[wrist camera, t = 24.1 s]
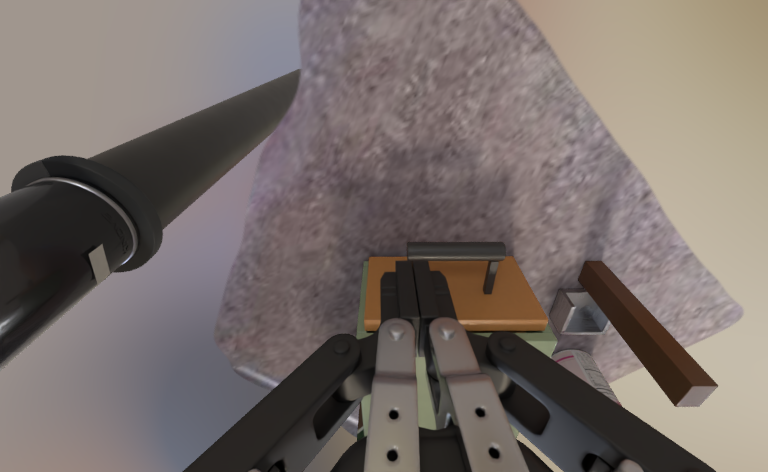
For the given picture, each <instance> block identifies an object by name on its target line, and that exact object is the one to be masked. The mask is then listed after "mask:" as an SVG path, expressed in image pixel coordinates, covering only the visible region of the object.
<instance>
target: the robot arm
mask: <svg viewBox="0 0 768 472" xmlns="http://www.w3.org/2000/svg"><path fill="white" fill-rule="evenodd" d="M139 245H140V234H139V230H138V227H137V225H136V222H135V221H134V219H133V217H132V216H131V214H130V213H129V212H128V210H127V209H126V208H125V207H124V206H123V205H122V204H121V203H120V202H119V201H118V200H117V199H115V198H114V197H113V196H112V195H110V194H109V193H107V192H106V191H104V190H103V189H101V188H99V187H98V186H96V185H94V184H91V183H89V182H87V181H84V180H81V179H78V178H74V177H69V176H60V175H55V176H47V177H44V178H41V179H39V180H36V181H34V182H32V183H30V184H28V185H27V186H26V187H23V188H21V189H19V190H16V191H14V192H12V193H9V194H7V195H5V196H2V197H0V371H1V369H3V368H4V367H5V366H6V365H8V364H9V363H10V362H11V361H12V360H13V359H14V358H16V356H18V355H19V354H20V353H21V352H22V351H23V350H25V349H26V348H27V347H28V346H29V345H30V344H31V343H33V342H34V341H35V340H36V339H37V338H38V337H39V336H41V335H42V334H43V333H44V332H45V331H46V330H47V329H49V328H50V327H51V326H52V325H53V324H54V323H55V322H57V321H58V320H59V319H60V318H61V317H62V316H63V315H65V313H66V312H68V311H69V310H70V309H71V308H73V307H74V306H75V305H76V304H77V303H78V302H79V301H80V300H81V299H83V298H84V297H85V296H86V295H87V294H88V293H89V292H90V291H92V290H93V289H94V288H95V287H96V286H98V285H99V284H100V283H101V282H102V281H103V280H105V279H106V278H107V277H108V276H109V275H110V274H111V273H112V272H113V271H115V270H116V269H117V268H118V267H119V266H120V265H122V264H124V263H125V262H127V261H128V260H129V259H130V258H131V257H132V256H133V255H135V253H136V252H137V250H138V248H139ZM380 307H381V322H380V326H379V328H378V329H377V330H376V331H375V332H374V333H373V334H372V335H370V336H368V337H365V338H362V339H357V338H356V337H354V336H353V335H350V334H338V335H335V336H333V337H331V338H330V339H328V340H327V341H326V342H325V343H324V344H323V345H322V346H321V347H320V348H319V349H317V350H316V351H315V352H314V353H313V354H312V355H311V356H310V357H309V358H308V359H306V360H305V361H304V362H303V363H302V364H301V365H300V366H299V367H298V368H296V369H295V370H294V371H293V372H292V373H291V374H290V375H289V376H288V377H287V378H285V379H284V380H283V381H282V382H281V383H280V384H279V385H278V386H277V387H276V388H274V389H273V390H272V391H271V392H270V393H269V394H268V395H267V396H266V397H265V398H263V399H262V400H261V401H260V402H259V403H258V404H257V405H256V406H255V407H254V408H252V409H251V410H250V411H249V412H248V413H247V414H246V415H245V416H244V417H242V418H241V420H239V421H238V422H237V423H236V424H235V425H234V426H233V427H231V428H230V429H229V430H228V431H227V432H226V433H225V434H224V435H223V436H222V437H220V438H219V439H218V440H217V441H216V442H215V443H214V444H213V445H212V446H211V447H210V448H208V449H207V450H206V451H205V452H204V453H203V454H202V455H201V456H199V458H197V459H196V460H195V461H194V462H193V463H192V464H191V465H190V466H188V468H186V469H185V470H184V471H183V472H303V471H304V470H305V468H306V467H307V466H308V465H309V463H310V462H311V461H312V460H313V459H314V458H315V456H316V455H317V454H318V453H319V451H320V450H321V449H322V448H323V447H324V445H325V444H326V443H327V442H328V441H329V440H330V438H331V437H332V436H333V435H334V434H335V432H336V431H337V430H338V429H339V428H340V426H341V425H342V424H343V423H344V422H345V420H346V419H347V418H348V417H349V416H350V414H351V413H352V412H353V411H354V410H355V408H356V407H357V406H358V405H359V404H360V402H361V401H362V399H363V397H364V396H367V395H369V394H371V402H370V412H369V422H368V433H367V436H365V437H363V438H361V439H360V440H358V441H357V442H355V443H354V444H353V445H352V446H350V447H349V449H348V450H347V451H346V452H345V453H344V454H343V455H342V456H341V458H340V459H339V460H338V462H337V463H336V465H335V466H334V467H333V469H332V470H331V471H330V472H553V471H552V470H551V469H550V468H549V467H548V466H547V465H546V464H545V463H544V462H543V461H542V460H541V459H540V458H539V457H538V456H537V455H536V454H535V453H534V452H533V451H531V450H530V449H529V448H528V447H527V446H526V445H524V444H523V443H521V442H520V441H518V440H517V439H516V438H515V435H514V433H513V431H512V428H511V426H510V424H511V425H512V426H514V427H515V428H516V429H517V430H518V431H519V432H520V433H521V434H523V435H524V436H525V437H526V438H527V439H528V440H529V441H530V442H531V443H532V444H534V445H535V446H536V447H537V448H538V449H539V450H540V451H542V452H543V453H544V454H545V455H546V456H547V457H548V458H549V459H550V460H551V461H553V462H554V463H555V464H556V465H557V466H558V467H559V468H560V469H561V470H563V471H564V472H716V471H715V470H714V469H712V468H711V467H709V466H708V465H707V464H706V463H704V462H703V461H701V460H700V459H698V458H697V457H695V456H694V455H692V454H691V453H689V452H688V451H686V450H685V449H684V448H682V447H680V446H679V445H678V444H676V443H675V442H673V441H672V440H670V439H669V438H667V437H666V436H664V435H663V434H661V433H660V432H659V431H657V430H656V429H654V428H652V427H651V426H650V425H648V424H647V423H645V422H643V421H642V420H641V419H639V418H638V417H637V416H635V415H634V414H632V413H631V412H629V411H628V410H626V409H625V408H623V407H622V406H620V405H619V404H617V403H616V402H614V401H613V400H612V399H610V398H609V397H607V396H606V395H604V394H603V393H601V392H600V391H598V390H597V389H595V388H594V387H592V386H591V385H590V384H588V383H587V382H585V381H584V380H582V379H581V378H579V377H578V376H576V375H575V374H573V373H572V372H570V371H569V370H567V369H566V368H565V367H563V366H562V365H560V364H559V363H557V362H556V361H554V360H553V359H551V358H550V357H548V356H547V355H545V354H544V353H542V352H541V351H540V350H538V349H537V348H535V347H534V346H532V345H531V344H529V343H528V342H526V341H525V340H523V339H522V338H520V337H519V336H517V335H516V334H514V333H512V332H508V331H496V332H493V333H492V334H491V335H490V336H489V337H485V336H481V335H477V334H474V333H471V332H469V331H467V330H466V329H465V328H464V327H463V325H462V324H461V323H460V322H459V321H458V319H457V315H456V312H455V308H454V305H453V301H452V297H451V294H450V290H449V288H448V283H447V279H446V277H445V276H444V275H443V274H442V273H441V272H440V270H439V271H430V267H429V262H428V260H412V263H411V260H402V261H395V272H384V274H383V275H382V277H381V279H380ZM417 349H418V356H419V357H425V363H426V369H425V376H426V380H427V385H428V390H429V394H430V399H431V403H432V408H433V412H434V417H435V423H436V430H431V429H427V428H423V427H419V424H418V392H417V377H416V358H415V357H417Z"/></svg>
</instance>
